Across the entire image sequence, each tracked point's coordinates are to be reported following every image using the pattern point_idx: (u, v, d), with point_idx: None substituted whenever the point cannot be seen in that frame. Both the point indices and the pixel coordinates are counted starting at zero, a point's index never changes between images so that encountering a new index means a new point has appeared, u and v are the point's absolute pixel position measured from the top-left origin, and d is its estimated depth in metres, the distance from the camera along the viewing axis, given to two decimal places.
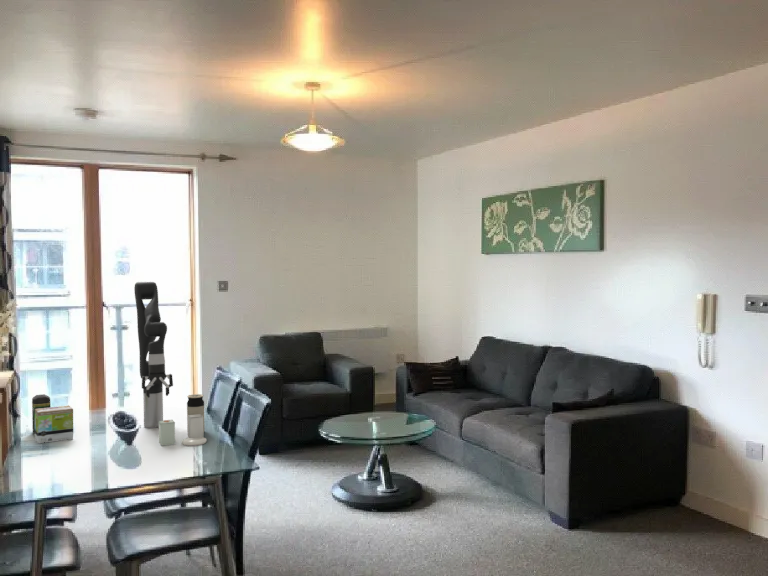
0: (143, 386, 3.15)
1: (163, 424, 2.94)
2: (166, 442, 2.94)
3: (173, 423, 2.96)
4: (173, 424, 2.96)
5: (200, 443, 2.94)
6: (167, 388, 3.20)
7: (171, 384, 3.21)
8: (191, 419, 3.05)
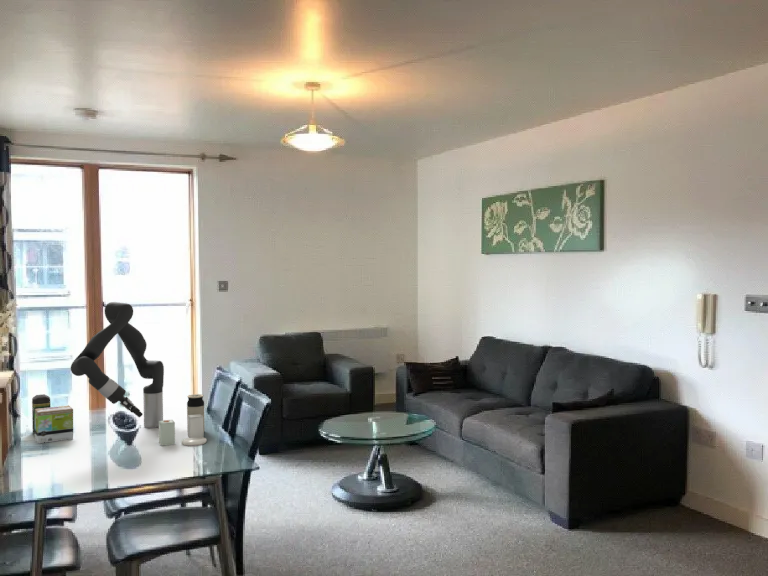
0: None
1: (163, 424, 2.94)
2: (166, 442, 2.94)
3: (173, 423, 2.96)
4: (173, 424, 2.96)
5: (200, 443, 2.94)
6: (133, 412, 2.86)
7: (130, 411, 2.84)
8: (191, 419, 3.05)
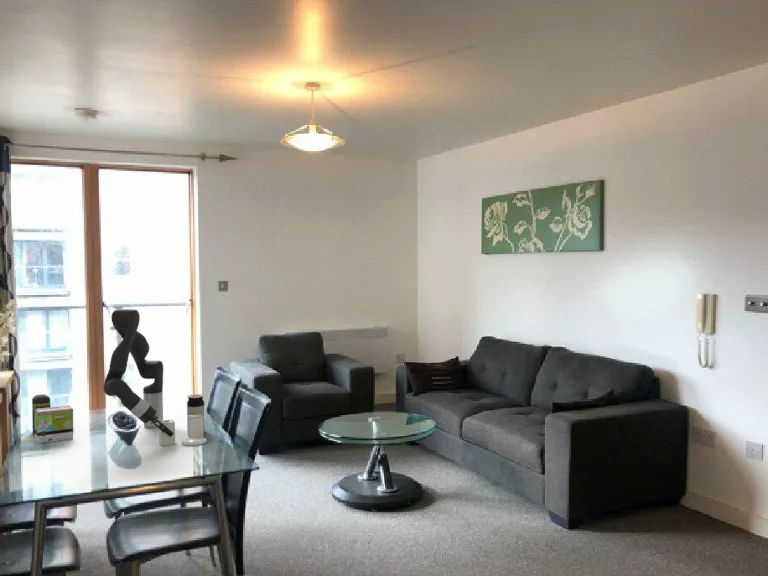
0: None
1: None
2: (166, 442, 2.94)
3: (173, 423, 2.96)
4: (173, 424, 2.96)
5: (200, 443, 2.94)
6: None
7: (162, 431, 2.91)
8: (191, 419, 3.05)
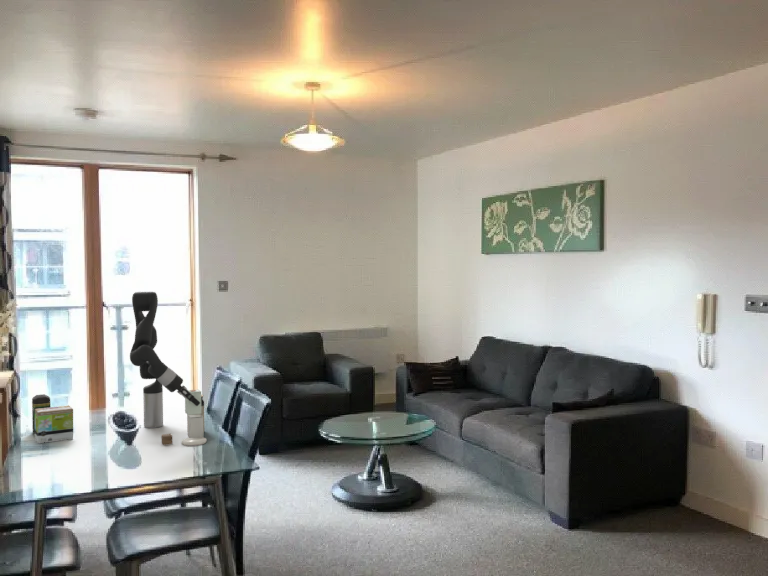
0: None
1: None
2: (192, 411, 2.95)
3: (199, 392, 2.96)
4: (199, 393, 2.96)
5: (200, 443, 2.94)
6: (191, 401, 2.94)
7: (189, 399, 2.91)
8: (191, 419, 3.05)
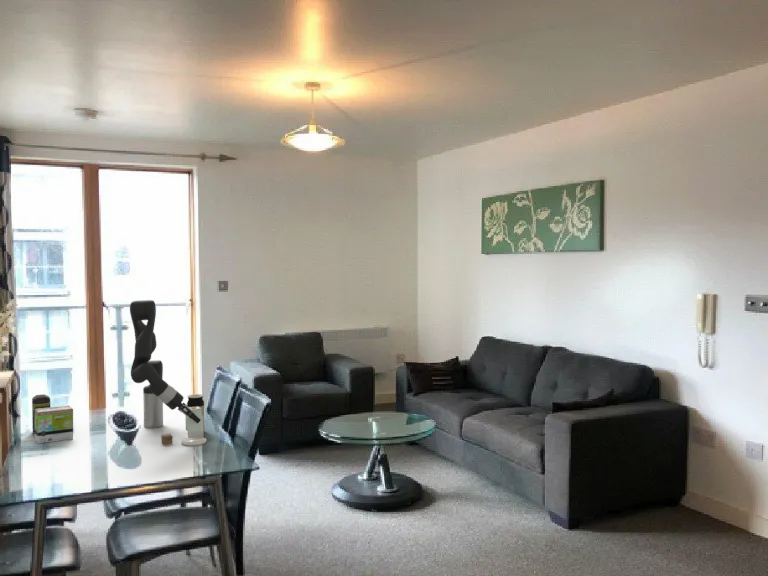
0: None
1: None
2: (193, 428, 2.95)
3: (200, 410, 2.96)
4: (200, 411, 2.96)
5: (200, 443, 2.94)
6: (191, 418, 2.94)
7: None
8: None
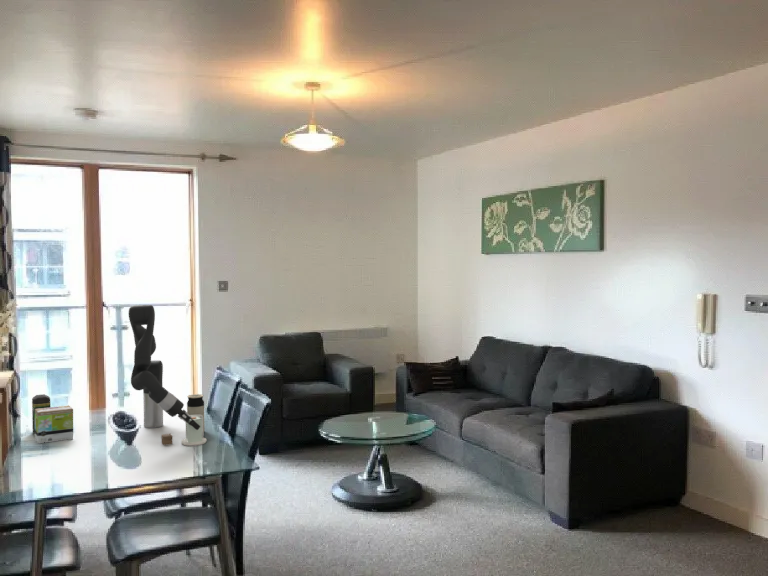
0: None
1: (190, 421, 2.94)
2: (193, 439, 2.95)
3: (200, 420, 2.96)
4: (200, 421, 2.96)
5: (200, 443, 2.94)
6: (191, 425, 2.93)
7: (189, 424, 2.91)
8: None
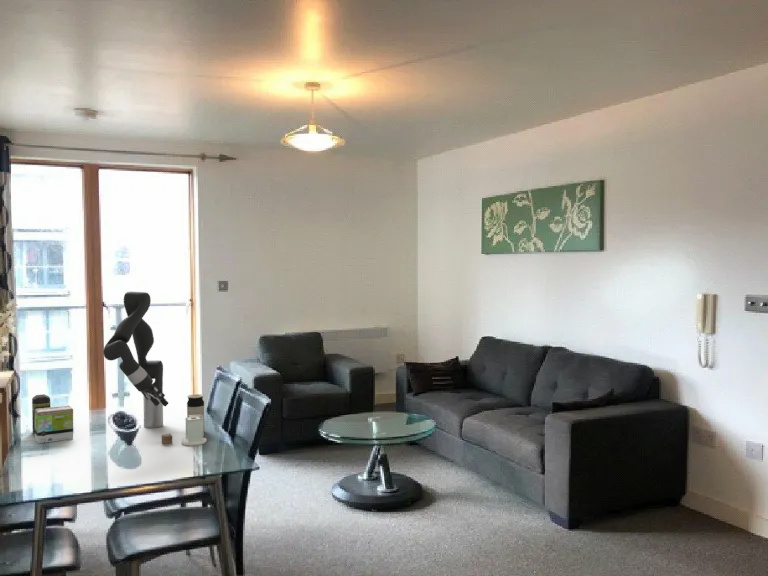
0: (145, 397, 2.97)
1: (190, 421, 2.94)
2: (193, 439, 2.95)
3: (200, 420, 2.96)
4: (200, 421, 2.96)
5: (200, 443, 2.94)
6: (160, 400, 2.90)
7: (159, 398, 2.88)
8: None
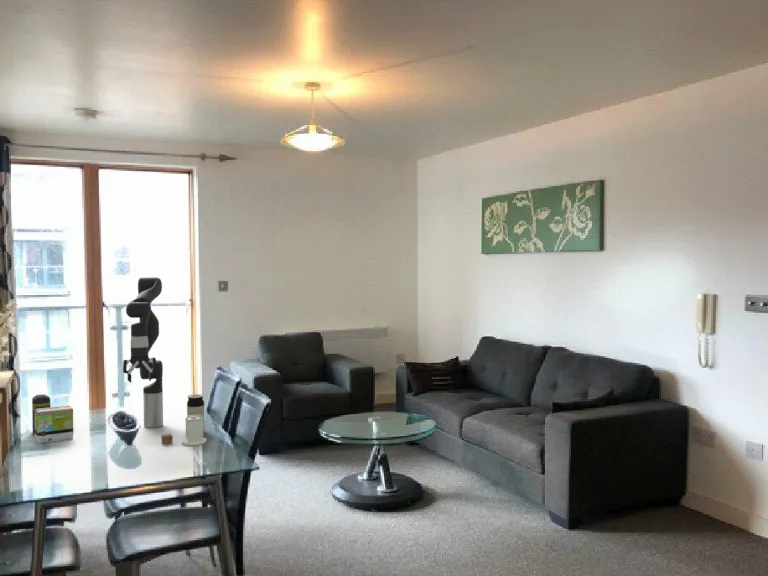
0: (124, 370, 2.95)
1: (190, 421, 2.94)
2: (193, 439, 2.95)
3: (200, 420, 2.96)
4: (200, 421, 2.96)
5: (200, 443, 2.94)
6: (150, 372, 3.00)
7: (155, 368, 3.01)
8: None
